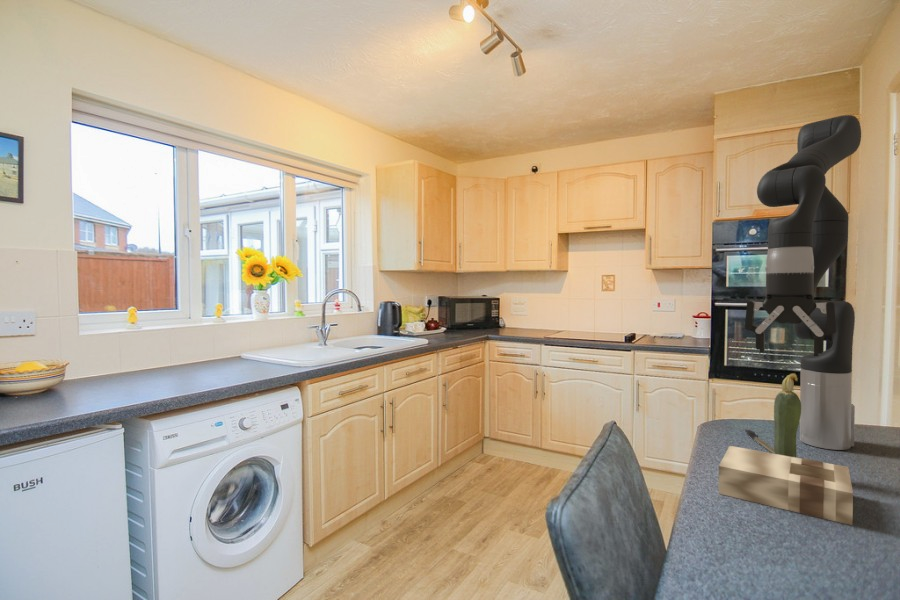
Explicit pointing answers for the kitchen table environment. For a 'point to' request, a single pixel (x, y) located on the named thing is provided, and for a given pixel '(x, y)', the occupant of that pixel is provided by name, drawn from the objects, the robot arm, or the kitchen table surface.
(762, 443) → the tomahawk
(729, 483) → the wooden block with hole
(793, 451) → the vegetable
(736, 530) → the kitchen table surface
